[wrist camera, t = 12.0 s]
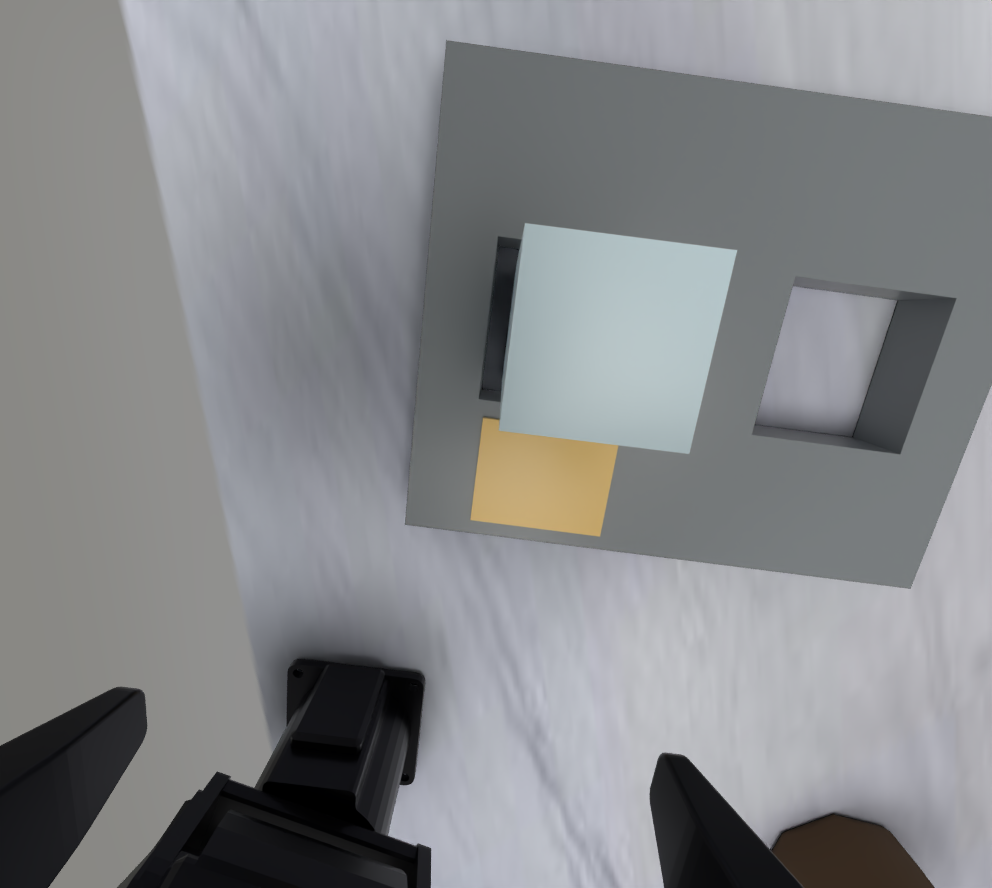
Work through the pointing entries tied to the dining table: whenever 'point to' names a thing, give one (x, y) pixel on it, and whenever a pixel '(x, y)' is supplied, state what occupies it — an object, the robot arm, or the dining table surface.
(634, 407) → the plug
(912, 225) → the socket panel
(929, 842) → the dining table surface
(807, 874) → the beer bottle
